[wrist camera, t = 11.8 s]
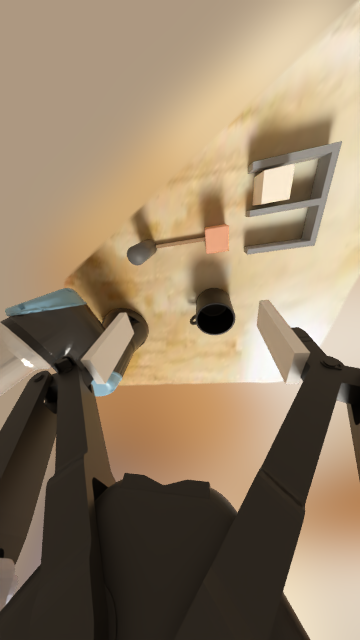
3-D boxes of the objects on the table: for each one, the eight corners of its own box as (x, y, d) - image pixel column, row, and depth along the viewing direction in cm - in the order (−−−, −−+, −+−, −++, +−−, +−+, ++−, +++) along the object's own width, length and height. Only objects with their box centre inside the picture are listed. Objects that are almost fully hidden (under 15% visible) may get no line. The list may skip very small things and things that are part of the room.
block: (252, 205, 33) (261, 204, 28) (254, 177, 31) (264, 170, 26) (276, 201, 33) (289, 199, 28) (279, 172, 30) (295, 163, 25)
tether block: (145, 257, 42) (131, 268, 33) (140, 238, 39) (123, 245, 31) (225, 245, 38) (231, 254, 30) (225, 224, 36) (232, 227, 27)
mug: (183, 300, 47) (179, 317, 40) (221, 281, 43) (225, 295, 35) (198, 324, 51) (197, 343, 44) (235, 308, 47) (241, 327, 39)
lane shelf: (243, 251, 38) (247, 254, 35) (248, 166, 30) (253, 161, 27) (305, 242, 36) (314, 245, 33) (327, 148, 28) (342, 141, 25)
